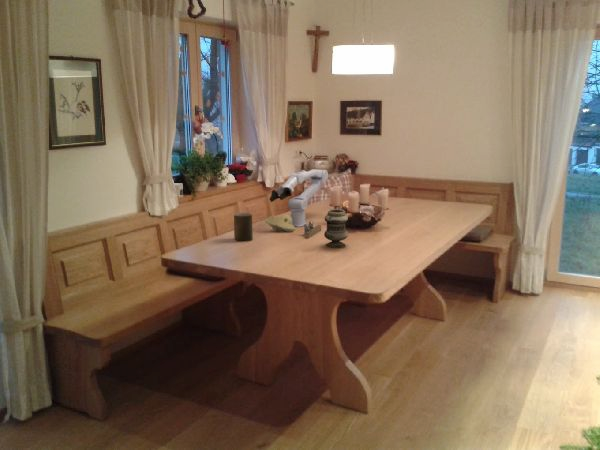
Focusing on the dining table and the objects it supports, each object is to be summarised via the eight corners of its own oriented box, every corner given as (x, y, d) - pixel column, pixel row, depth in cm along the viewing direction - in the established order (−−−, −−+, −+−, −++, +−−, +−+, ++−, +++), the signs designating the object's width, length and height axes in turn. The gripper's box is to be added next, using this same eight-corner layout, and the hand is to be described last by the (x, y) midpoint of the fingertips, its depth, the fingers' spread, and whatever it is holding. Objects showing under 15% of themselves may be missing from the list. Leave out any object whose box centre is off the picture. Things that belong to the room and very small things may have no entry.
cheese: (297, 232, 327) (280, 214, 331) (300, 225, 321) (283, 207, 326) (278, 244, 319) (261, 226, 323) (281, 237, 313) (263, 218, 317)
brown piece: (313, 229, 325) (313, 219, 323) (321, 230, 323) (321, 220, 322) (300, 237, 307) (300, 226, 305) (308, 238, 305) (308, 227, 304)
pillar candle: (249, 242, 298) (249, 213, 295) (231, 241, 300) (231, 213, 297) (254, 238, 307) (254, 210, 304) (237, 237, 309) (236, 209, 306)
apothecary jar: (328, 249, 283) (328, 213, 279) (321, 243, 294) (321, 209, 290) (351, 247, 286) (351, 212, 282) (343, 241, 297) (343, 207, 293)
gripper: (275, 182, 328) (262, 195, 319) (294, 178, 318) (281, 191, 309) (281, 193, 330) (268, 205, 321) (299, 189, 320) (287, 202, 312)
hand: (275, 199), depth 315 cm, fingers open, 7 cm apart
